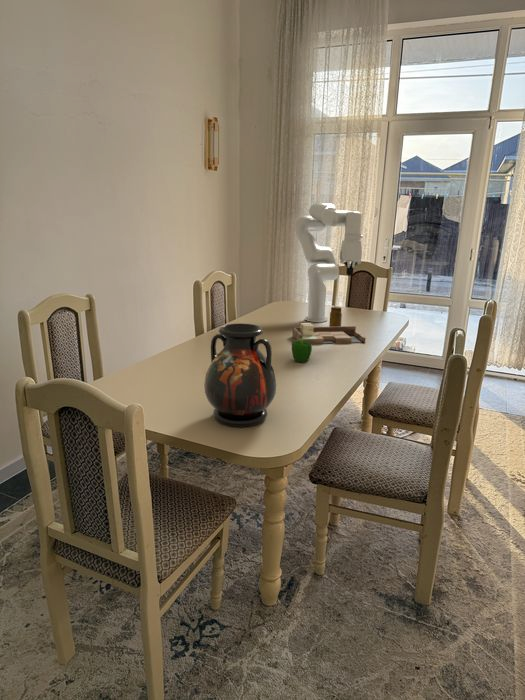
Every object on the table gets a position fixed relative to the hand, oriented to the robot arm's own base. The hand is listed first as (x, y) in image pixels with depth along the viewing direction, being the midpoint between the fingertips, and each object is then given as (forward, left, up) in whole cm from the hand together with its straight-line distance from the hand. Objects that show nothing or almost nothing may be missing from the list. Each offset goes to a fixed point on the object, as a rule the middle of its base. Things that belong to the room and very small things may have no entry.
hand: (349, 275), depth 246 cm
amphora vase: (+98, -67, -29) cm, 122 cm away
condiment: (-4, -4, -29) cm, 30 cm away
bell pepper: (+45, -35, -29) cm, 64 cm away
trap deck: (+14, -13, -29) cm, 35 cm away
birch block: (+12, -24, -27) cm, 38 cm away
